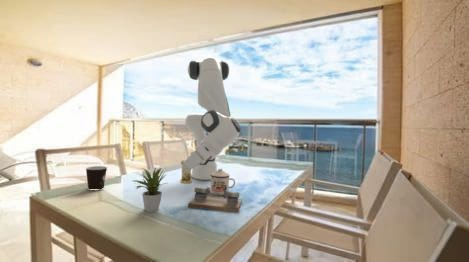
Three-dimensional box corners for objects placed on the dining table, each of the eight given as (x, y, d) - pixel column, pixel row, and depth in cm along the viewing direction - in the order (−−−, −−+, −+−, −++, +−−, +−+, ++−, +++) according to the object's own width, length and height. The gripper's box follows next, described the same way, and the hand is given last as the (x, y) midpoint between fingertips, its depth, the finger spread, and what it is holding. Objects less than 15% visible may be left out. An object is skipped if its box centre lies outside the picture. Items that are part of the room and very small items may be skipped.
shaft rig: (197, 198, 112) (197, 183, 112) (241, 202, 109) (242, 187, 109) (188, 207, 100) (188, 190, 100) (237, 212, 97) (238, 195, 97)
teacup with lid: (209, 195, 118) (210, 170, 117) (210, 189, 127) (211, 166, 126) (235, 196, 118) (236, 171, 118) (234, 190, 127) (235, 167, 127)
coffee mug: (95, 192, 113) (95, 170, 113) (80, 189, 116) (81, 168, 116) (115, 186, 124) (115, 166, 124) (101, 184, 127) (102, 164, 127)
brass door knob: (182, 180, 109) (183, 159, 109) (193, 181, 109) (194, 160, 108) (178, 183, 105) (179, 161, 104) (189, 184, 104) (190, 162, 103)
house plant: (141, 201, 104) (142, 162, 104) (174, 203, 104) (175, 163, 103) (125, 213, 90) (126, 168, 89) (163, 215, 90) (165, 170, 89)
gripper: (209, 141, 115) (188, 160, 117) (196, 146, 95) (170, 169, 97) (218, 151, 115) (197, 171, 117) (207, 158, 94) (181, 182, 96)
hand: (185, 170), depth 107 cm, fingers closed on brass door knob, 4 cm apart
